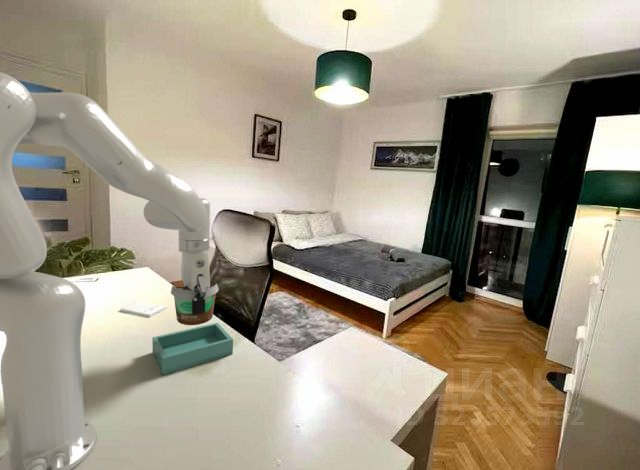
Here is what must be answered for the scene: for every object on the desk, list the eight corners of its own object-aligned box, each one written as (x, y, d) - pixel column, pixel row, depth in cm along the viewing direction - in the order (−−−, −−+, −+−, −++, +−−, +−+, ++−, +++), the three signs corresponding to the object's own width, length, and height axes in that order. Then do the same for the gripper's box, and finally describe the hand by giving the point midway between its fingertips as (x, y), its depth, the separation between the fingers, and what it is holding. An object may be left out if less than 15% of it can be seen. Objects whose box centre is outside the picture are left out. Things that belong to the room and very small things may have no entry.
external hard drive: (139, 304, 114) (167, 310, 111) (120, 312, 106) (149, 318, 103) (139, 300, 114) (167, 305, 111) (120, 308, 106) (149, 314, 103)
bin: (232, 354, 85) (233, 339, 85) (162, 375, 74) (162, 358, 73) (217, 336, 94) (217, 322, 94) (152, 352, 83) (152, 337, 82)
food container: (166, 328, 78) (166, 291, 76) (171, 318, 84) (171, 283, 82) (216, 326, 81) (217, 290, 80) (218, 316, 87) (218, 283, 85)
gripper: (220, 250, 75) (219, 317, 78) (198, 238, 88) (198, 295, 91) (189, 253, 70) (188, 324, 73) (170, 239, 84) (171, 300, 86)
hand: (193, 307), depth 82 cm, fingers closed on food container, 7 cm apart
